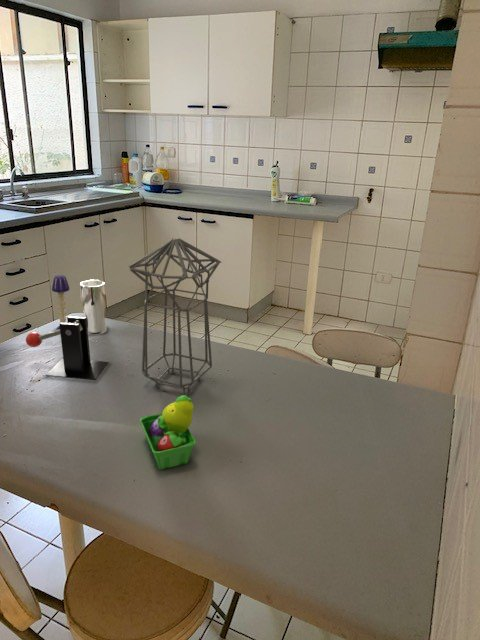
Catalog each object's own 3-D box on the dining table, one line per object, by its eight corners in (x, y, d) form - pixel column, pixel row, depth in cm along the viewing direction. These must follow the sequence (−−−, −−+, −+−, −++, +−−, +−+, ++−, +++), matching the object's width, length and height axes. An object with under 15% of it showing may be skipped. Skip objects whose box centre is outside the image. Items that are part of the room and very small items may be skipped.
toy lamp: (62, 327, 138) (56, 273, 131) (76, 329, 137) (71, 274, 131) (53, 333, 133) (46, 277, 127) (67, 335, 132) (62, 279, 126)
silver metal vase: (78, 334, 133) (73, 284, 128) (94, 325, 139) (90, 278, 134) (98, 338, 131) (94, 288, 125) (113, 330, 137) (110, 281, 131)
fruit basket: (139, 439, 90) (137, 389, 85) (183, 430, 93) (183, 380, 89) (154, 477, 80) (153, 422, 76) (203, 465, 84) (203, 412, 79)
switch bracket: (45, 379, 109) (38, 326, 104) (63, 362, 117) (57, 311, 112) (95, 384, 108) (90, 330, 103) (109, 366, 116) (105, 315, 111)
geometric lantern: (192, 410, 100) (192, 251, 86) (130, 393, 105) (121, 241, 92) (221, 378, 113) (226, 236, 100) (165, 364, 118) (162, 228, 105)
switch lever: (27, 351, 110) (20, 338, 109) (34, 345, 113) (28, 332, 112) (79, 335, 107) (72, 322, 106) (85, 329, 110) (79, 316, 109)
